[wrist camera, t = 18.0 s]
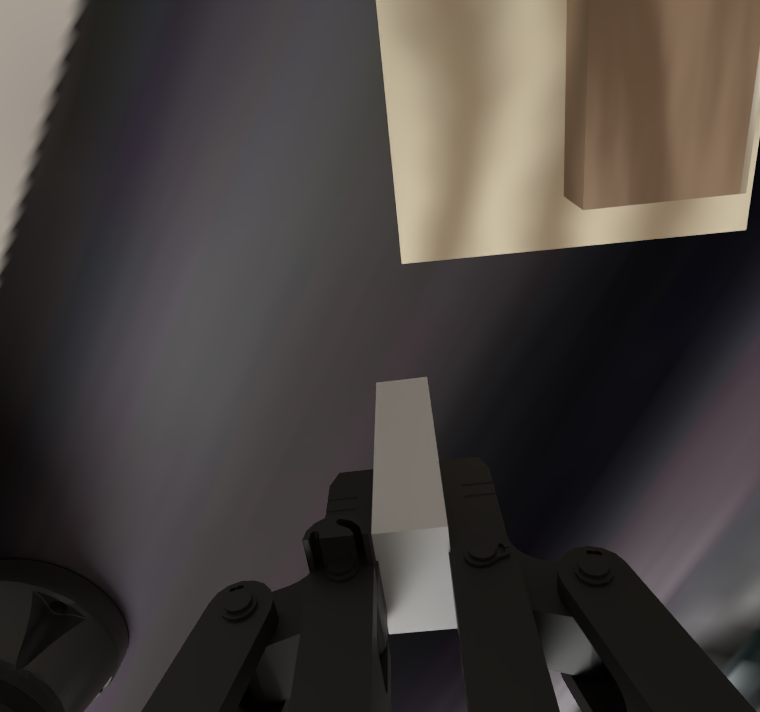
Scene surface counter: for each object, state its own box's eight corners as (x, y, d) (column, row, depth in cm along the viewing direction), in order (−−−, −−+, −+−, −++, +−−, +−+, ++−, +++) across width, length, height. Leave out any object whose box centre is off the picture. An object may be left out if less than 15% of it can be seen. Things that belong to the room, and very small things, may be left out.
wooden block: (583, 210, 30) (745, 193, 30) (589, -18, 26) (779, -43, 26) (563, 196, 34) (708, 180, 33) (566, -7, 30) (732, -28, 29)
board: (401, 259, 37) (401, 264, 36) (371, -47, 30) (371, -51, 29) (737, 226, 35) (746, 229, 35) (782, -104, 29) (795, -110, 28)
